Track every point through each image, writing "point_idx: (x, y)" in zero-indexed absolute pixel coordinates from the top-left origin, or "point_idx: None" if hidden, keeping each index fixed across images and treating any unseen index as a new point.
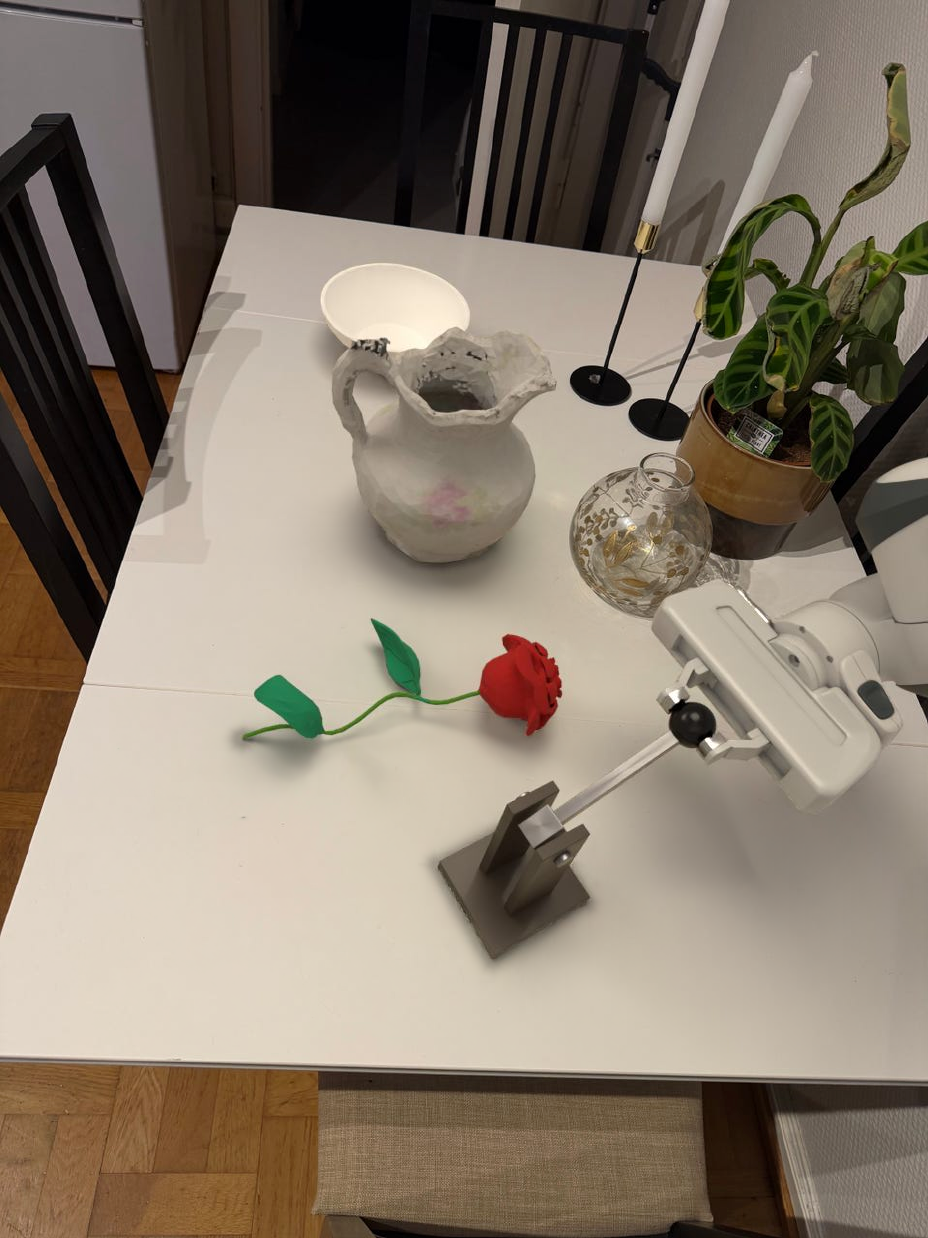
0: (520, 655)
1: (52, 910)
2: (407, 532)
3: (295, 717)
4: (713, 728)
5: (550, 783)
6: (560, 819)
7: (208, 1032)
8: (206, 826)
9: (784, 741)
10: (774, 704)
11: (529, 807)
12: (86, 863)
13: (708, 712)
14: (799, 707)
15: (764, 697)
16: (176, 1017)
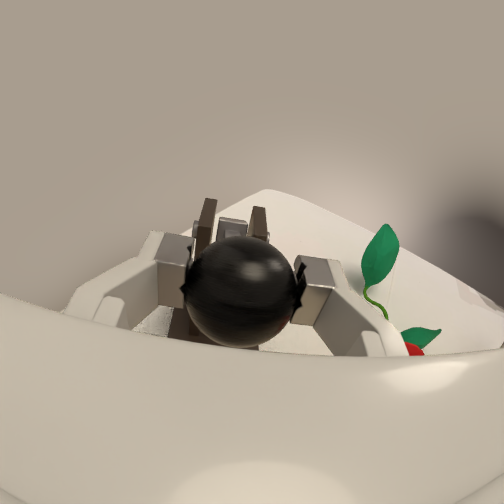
0: (415, 350)
1: (306, 205)
2: (502, 346)
3: (373, 247)
4: (201, 268)
5: (265, 233)
6: (228, 230)
7: (236, 209)
8: (324, 241)
9: (14, 310)
10: (112, 427)
11: (253, 215)
12: (320, 215)
13: (244, 265)
14: (27, 496)
15: (169, 418)
16: (248, 207)
